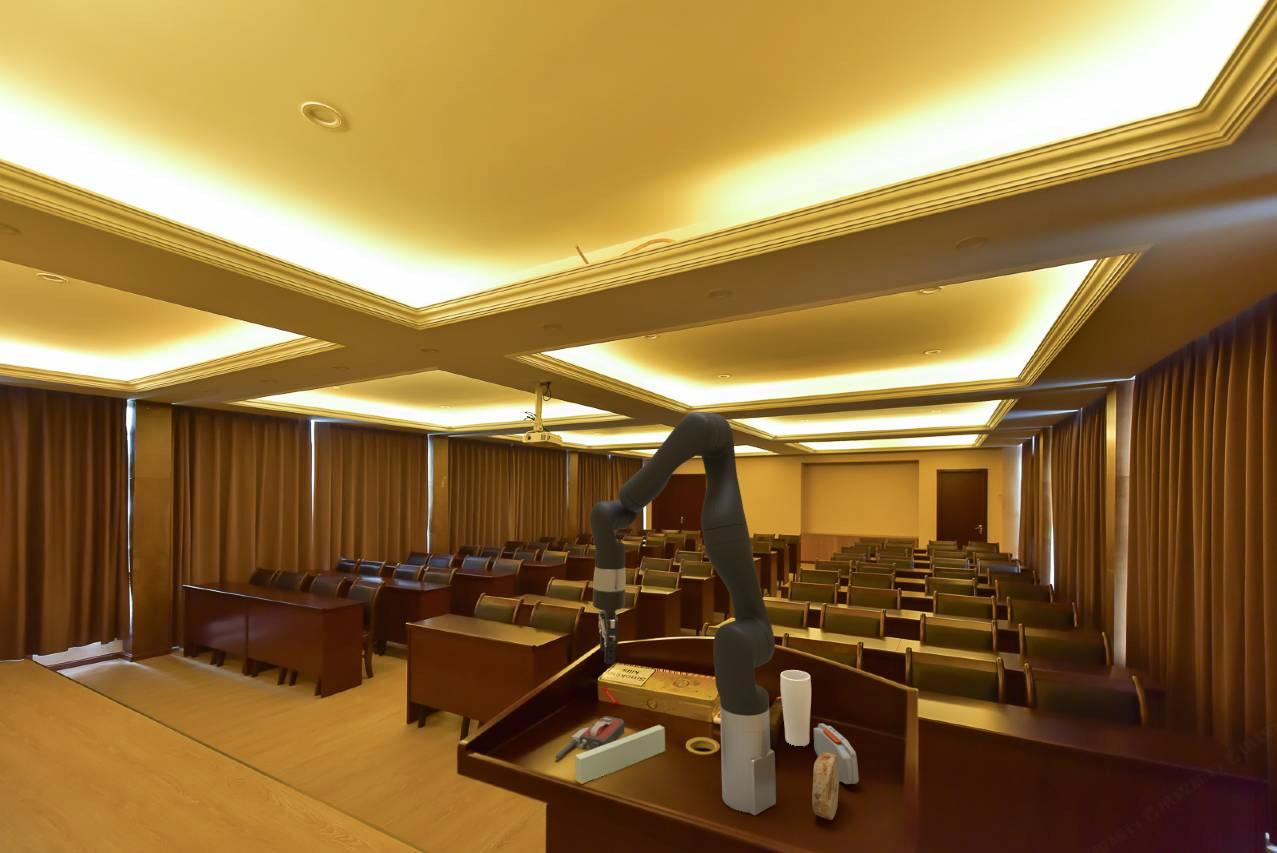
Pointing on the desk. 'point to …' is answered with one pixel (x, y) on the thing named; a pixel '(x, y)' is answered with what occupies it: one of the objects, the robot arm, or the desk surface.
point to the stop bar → (619, 753)
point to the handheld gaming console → (837, 752)
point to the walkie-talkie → (596, 735)
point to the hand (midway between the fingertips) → (607, 656)
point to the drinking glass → (796, 706)
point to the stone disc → (825, 786)
